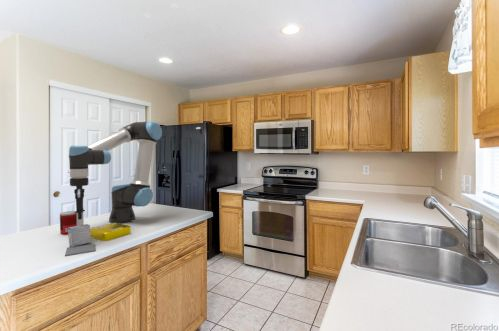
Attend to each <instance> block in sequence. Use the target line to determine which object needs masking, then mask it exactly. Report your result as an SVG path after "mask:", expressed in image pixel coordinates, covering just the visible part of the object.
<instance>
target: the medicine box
mask: <svg viewBox="0 0 499 331" xmlns="http://www.w3.org/2000/svg"><path fill="white" fill-rule="evenodd" d="M90 229H91V225H90V224H88V223H86V224H84V225H80V226H75V227H70V228H68V234H67V235H68V245H69V247H75V246H82V245H87V244H91V243H92V237H91V234H90Z"/></svg>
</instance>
